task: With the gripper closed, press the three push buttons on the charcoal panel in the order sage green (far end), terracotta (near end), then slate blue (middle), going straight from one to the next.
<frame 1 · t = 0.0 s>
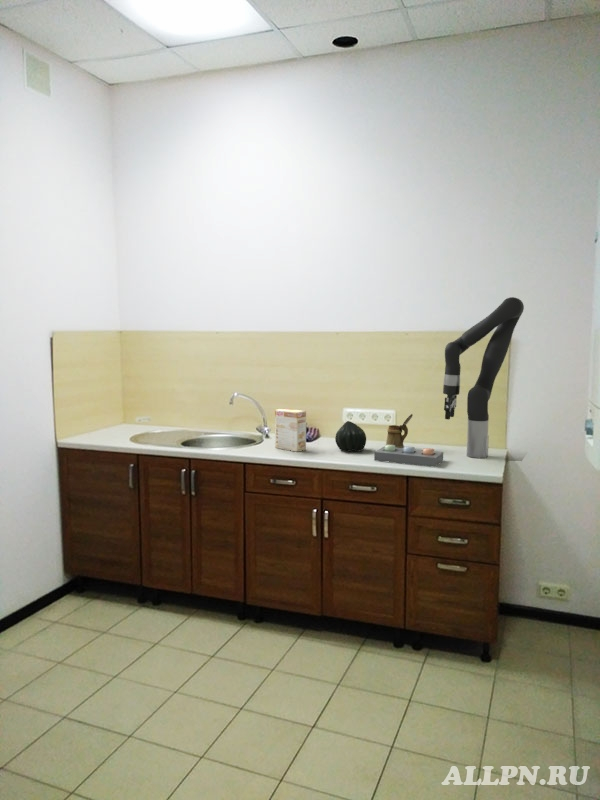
hand: (449, 418, 292), 17 cm above the countertop, tool pointing down, fingers open, 8 cm apart
coffeecake box: (290, 449, 305), on the countertop
button panel: (408, 460, 279), on the countertop
wooden mug: (398, 449, 305), on the countertop
sage button: (389, 449, 283), point 4 cm above the countertop, slide at 0.0 cm
squash: (350, 450, 301), on the countertop
slate button: (408, 451, 279), point 4 cm above the countertop, slide at 0.0 cm
terracotta button: (428, 452, 275), point 4 cm above the countertop, slide at 0.0 cm
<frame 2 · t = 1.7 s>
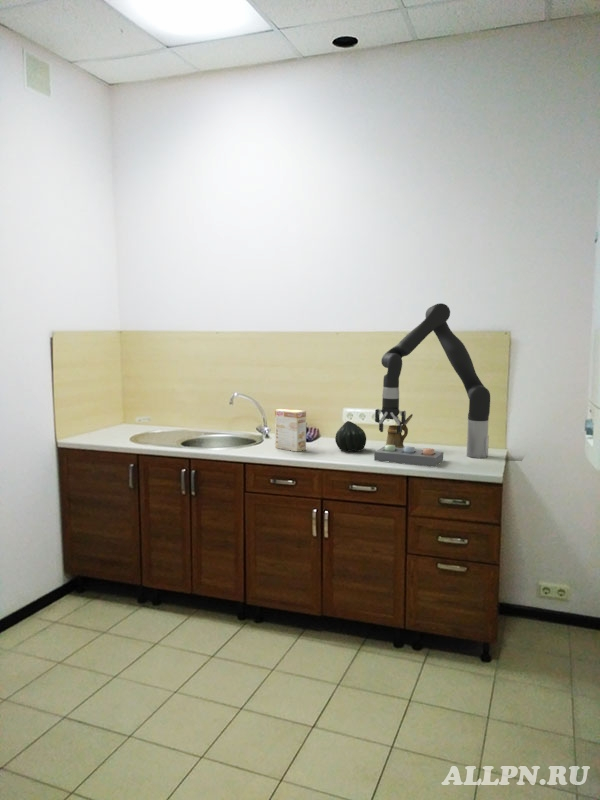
hand: (389, 432, 282), 12 cm above the countertop, tool pointing down, fingers open, 7 cm apart
nothing on the countertop moved.
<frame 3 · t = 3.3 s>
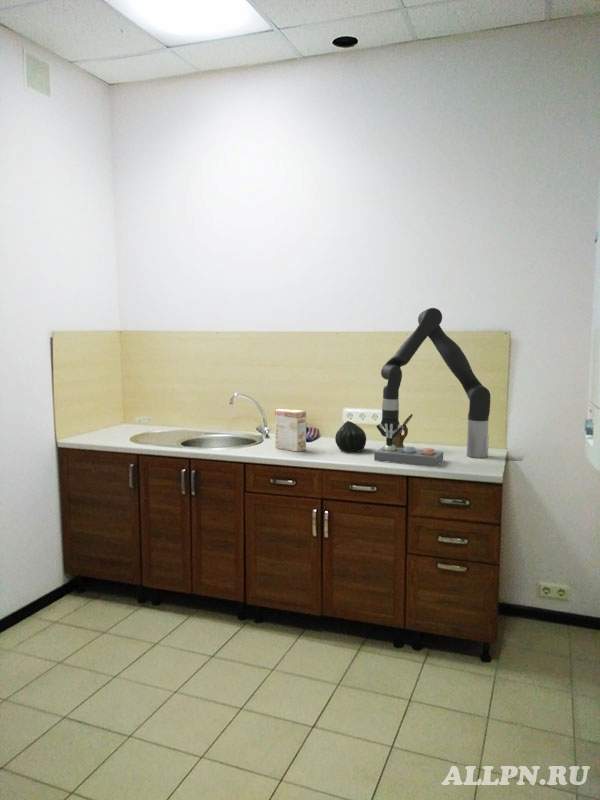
hand: (389, 445, 282), 6 cm above the countertop, tool pointing down, fingers closed
sage button: (389, 449, 283), point 4 cm above the countertop, slide at 0.0 cm, touching gripper
everything else where it was.
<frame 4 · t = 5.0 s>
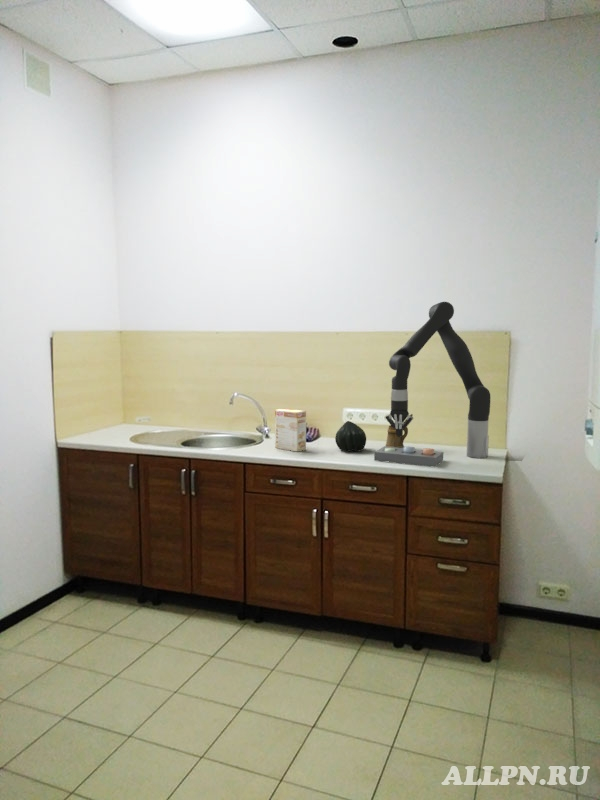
hand: (399, 436, 280), 11 cm above the countertop, tool pointing down, fingers closed
sage button: (389, 452, 283), point 3 cm above the countertop, slide at 1.5 cm
everything else where it was.
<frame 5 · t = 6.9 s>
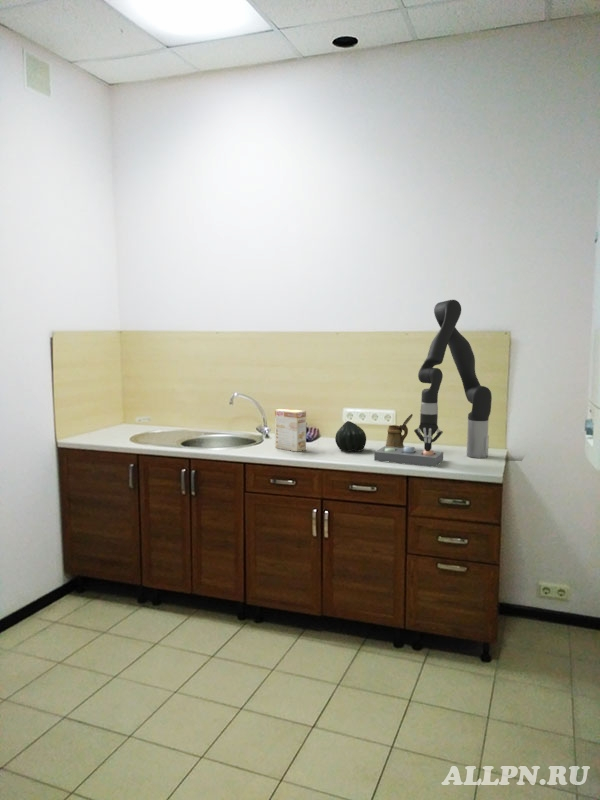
hand: (427, 450, 275), 5 cm above the countertop, tool pointing down, fingers closed
terracotta button: (428, 454, 275), point 4 cm above the countertop, slide at 0.7 cm, touching gripper
everything else where it was.
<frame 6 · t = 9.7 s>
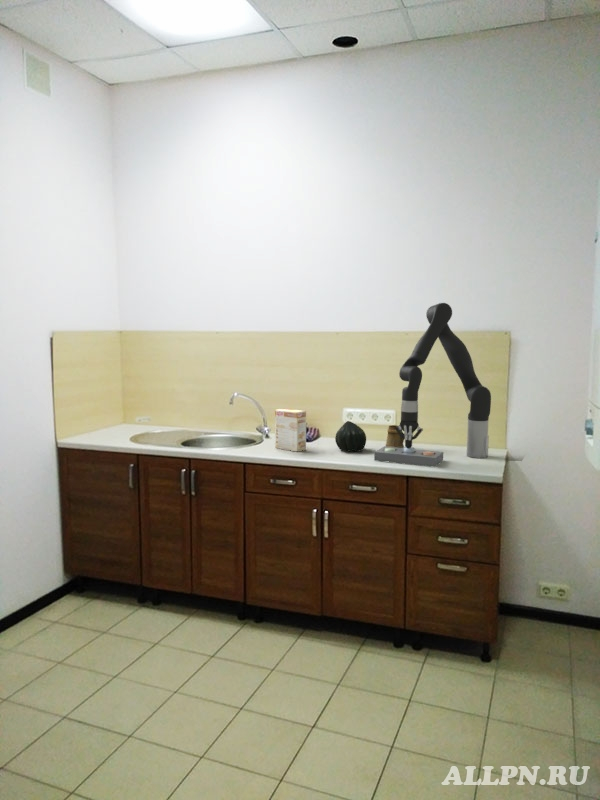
hand: (408, 448, 279), 6 cm above the countertop, tool pointing down, fingers closed
slate button: (408, 451, 279), point 4 cm above the countertop, slide at 0.3 cm, touching gripper
terracotta button: (428, 456, 275), point 3 cm above the countertop, slide at 1.5 cm
everything else where it was.
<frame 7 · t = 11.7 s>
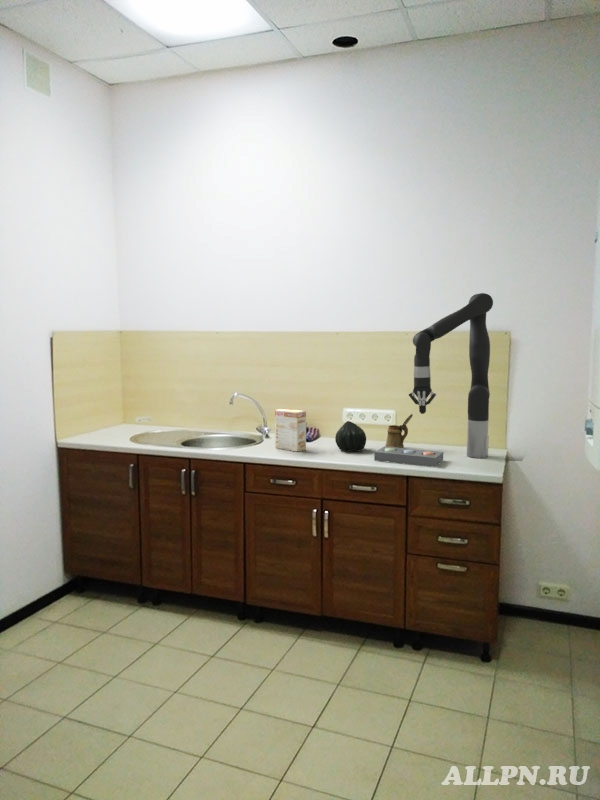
hand: (422, 413, 284), 20 cm above the countertop, tool pointing down, fingers closed
slate button: (408, 454, 279), point 3 cm above the countertop, slide at 1.5 cm
everything else where it was.
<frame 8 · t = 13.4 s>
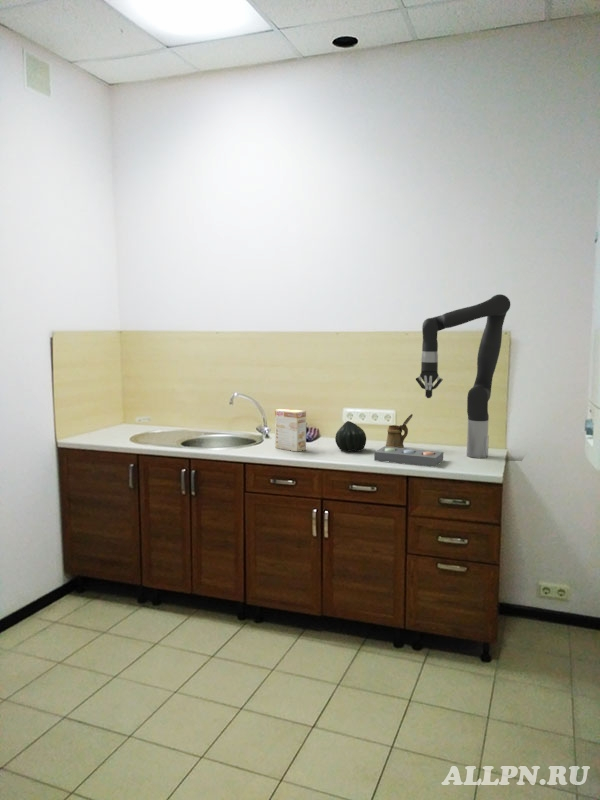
hand: (428, 397, 289), 27 cm above the countertop, tool pointing down, fingers closed
nothing on the countertop moved.
at the end: sage button slide at 1.5 cm; terracotta button slide at 1.5 cm; slate button slide at 1.5 cm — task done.
